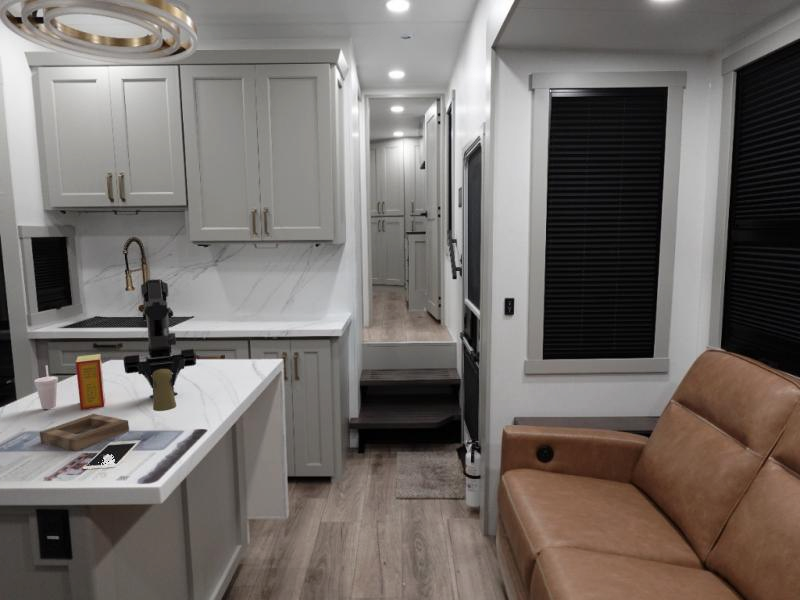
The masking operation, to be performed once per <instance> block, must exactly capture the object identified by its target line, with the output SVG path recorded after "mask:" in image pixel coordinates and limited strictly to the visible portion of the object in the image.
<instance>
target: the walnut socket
mask: <svg viewBox="0 0 800 600" xmlns="http://www.w3.org/2000/svg"><path fill="white" fill-rule="evenodd" d="M89 428H90V429H92V430H89ZM94 428H95V429H94ZM86 429H87V430H88V431H87V430H86ZM83 430H85V432H84V431H83ZM81 431H82V432H83V433H82V432H81ZM78 432H79V433H80V434H78ZM127 432H130V427H129V420H127V419H123V418H122V419H121V418H116V417H113V416H112V417H111V416H108V415H107V416H106V415H102V414H97V413H91V414H88V415H86V416H82V417H79V418H77V419H74V420H73V419H72V420H70V421H67V422H65V423H62V424H58V425H55V426H52V427H51V428H47V429H43V430H40V431H39V436H40V437H39V438H40V443H41V442H42V444H45V443H46V444H45V445H49V444H50V445H49V446H53V445H54V447H57V446H58V447H57V448H61V447H62V449H65V448H66V450H69V449H70V451H73V450H74V451H73V452H79V451H81V449H82V450H84V449H87V448H88V447H91V446H94V445H97V444H100V443H102V442H104V441H107V440H109V439H112V438H115V437H117V436H119V434H120V435H122V434H125V433H127ZM75 433H76V434H75ZM116 435H117V436H116ZM114 436H115V437H114ZM111 437H112V438H111ZM106 439H107V440H106ZM101 441H102V442H101ZM86 447H87V448H86ZM83 448H84V449H83ZM78 450H79V451H78Z"/></svg>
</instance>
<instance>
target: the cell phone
mask: <svg viewBox="0 0 800 600" xmlns="http://www.w3.org/2000/svg"><path fill="white" fill-rule="evenodd" d="M140 443H141V440H135V439H134V440H125V441H124V440H123V441H110V442H108V444H107V445H105V446H104V447H103V448H102V449H101V450H99V452H98V453H97V454H96V455H95V456H94V457H92V459H91V461H90V460H89V461H88V462H87V463H88V464H87V463H86V464H87V465H86V464H85V465H84V466H82V468H83V469H87V468H89V467H91V468H101V467H102V466H103V465H104V464H103V463H102V462H104V459H103V454H104V455H106V454H109V455H111V454H112V455H113V456H114V458H113V459H115V462H114V463H115V464H116V465H115V466H117V465H118V464H119V463H120V462H121V461H122V460H123V459H124V458H125V459H126V458H127V456H129V454H130V453H131V452H132V451H133V450H134V449H135V448H136V447H137V446H138V445H139V444H140ZM101 455H102V456H101ZM113 456H112V457H113ZM113 459H112V460H113ZM125 459H124V460H125ZM102 460H103V461H102ZM124 460H123V461H124ZM123 461H122V462H123ZM98 462H99V463H98ZM108 462H109V461H108ZM122 462H121V463H122ZM101 463H102V465H101ZM121 463H120V464H121ZM89 464H90V466H89ZM105 464H106V463H105ZM120 464H119V465H120ZM92 465H93V466H92ZM108 465H109V464H108ZM119 465H118V466H119ZM118 466H117V467H118ZM103 467H105V466H103ZM103 467H102V468H103ZM106 467H107V466H106ZM103 469H104V468H103Z"/></svg>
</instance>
